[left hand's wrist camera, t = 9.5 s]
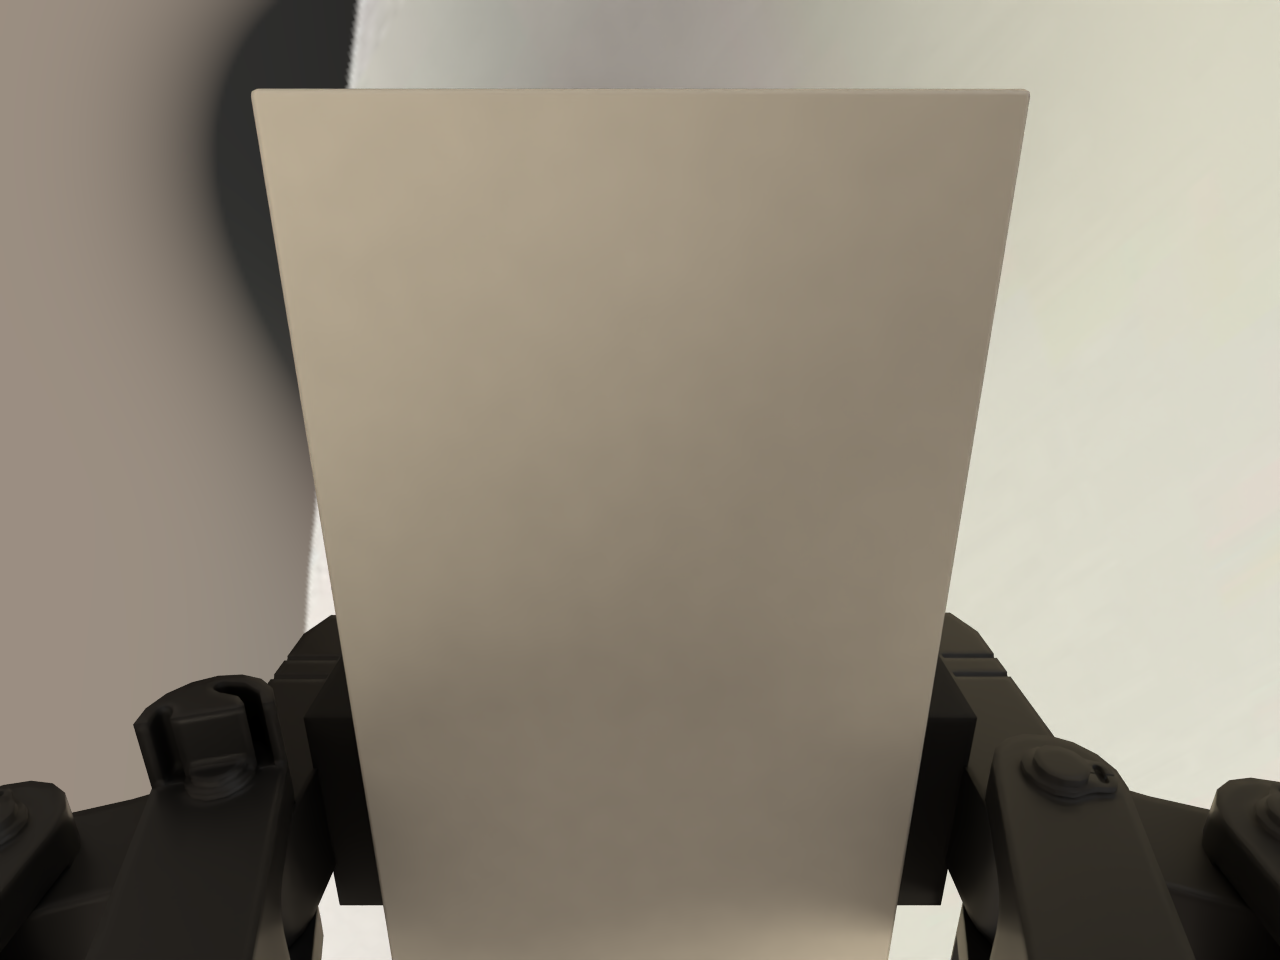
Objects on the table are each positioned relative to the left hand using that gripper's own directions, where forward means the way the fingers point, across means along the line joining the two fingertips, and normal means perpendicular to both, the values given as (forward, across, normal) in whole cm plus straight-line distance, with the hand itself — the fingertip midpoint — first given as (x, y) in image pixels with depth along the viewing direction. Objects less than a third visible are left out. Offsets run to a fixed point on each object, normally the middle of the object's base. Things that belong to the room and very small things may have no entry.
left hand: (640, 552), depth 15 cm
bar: (+1, 0, -27) cm, 27 cm away
